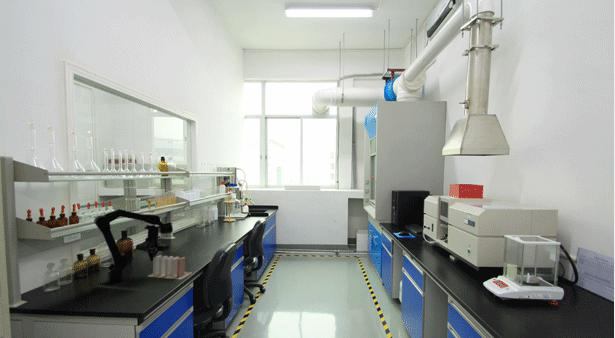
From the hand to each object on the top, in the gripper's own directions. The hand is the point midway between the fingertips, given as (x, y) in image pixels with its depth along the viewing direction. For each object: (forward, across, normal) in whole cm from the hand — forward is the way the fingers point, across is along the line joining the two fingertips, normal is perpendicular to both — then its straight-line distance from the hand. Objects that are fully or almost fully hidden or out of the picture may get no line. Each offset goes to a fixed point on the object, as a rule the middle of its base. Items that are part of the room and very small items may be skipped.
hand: (152, 261), depth 153 cm
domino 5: (+7, +20, 0) cm, 21 cm away
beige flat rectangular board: (+8, +13, 0) cm, 15 cm away
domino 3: (+7, +12, 0) cm, 14 cm away
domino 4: (+7, +16, 0) cm, 17 cm away
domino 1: (+7, +4, 0) cm, 8 cm away
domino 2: (+7, +8, 0) cm, 11 cm away
